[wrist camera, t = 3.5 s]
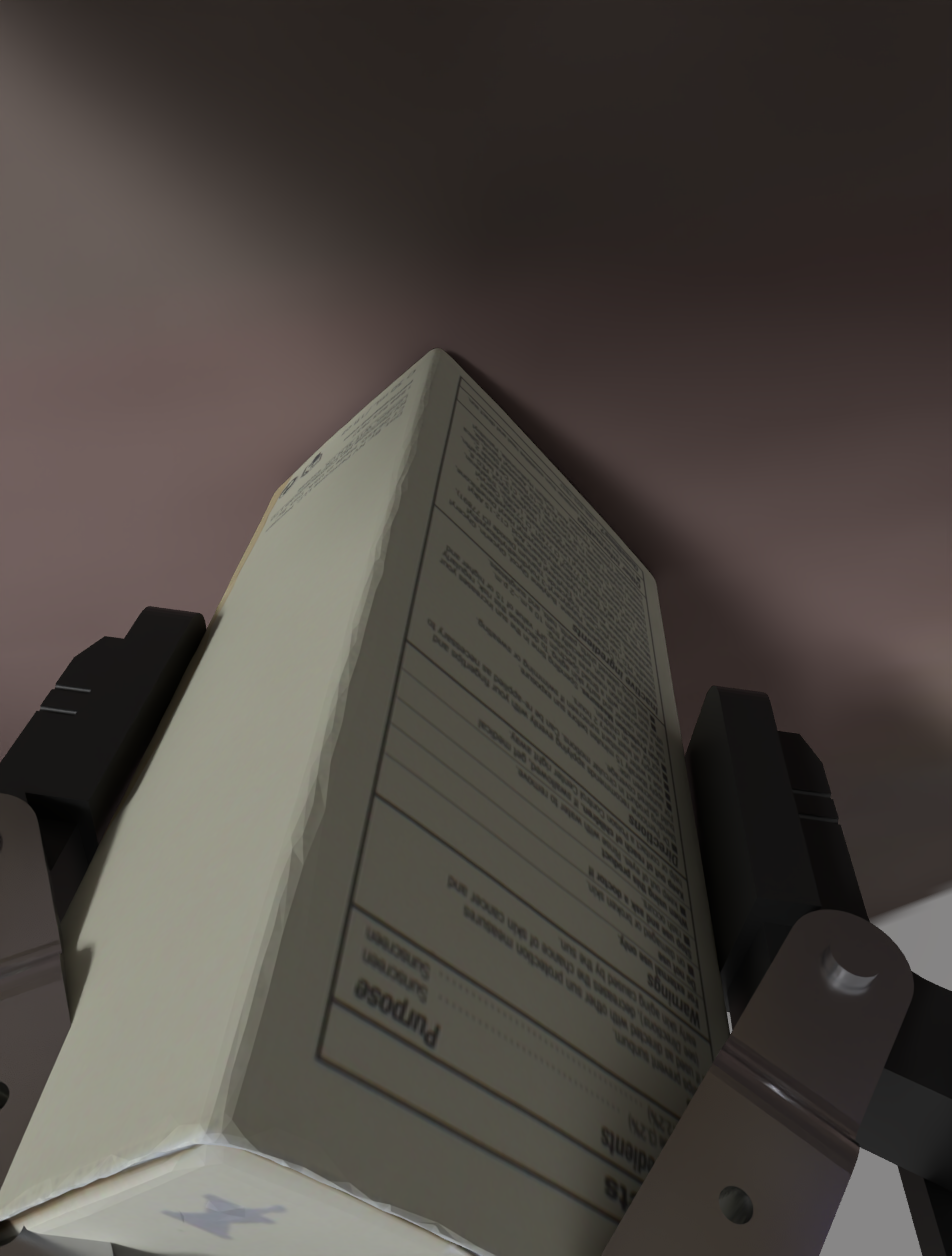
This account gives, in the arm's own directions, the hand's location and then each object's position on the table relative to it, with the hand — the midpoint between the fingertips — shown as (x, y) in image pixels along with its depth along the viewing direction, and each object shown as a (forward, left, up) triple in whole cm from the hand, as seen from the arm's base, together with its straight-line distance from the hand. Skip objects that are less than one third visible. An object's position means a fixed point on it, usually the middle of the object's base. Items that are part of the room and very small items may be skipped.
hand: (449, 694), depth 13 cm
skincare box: (0, 0, -5) cm, 5 cm away
